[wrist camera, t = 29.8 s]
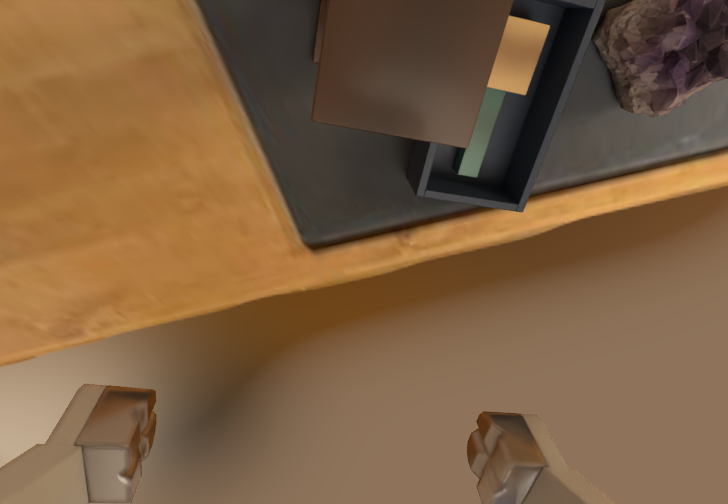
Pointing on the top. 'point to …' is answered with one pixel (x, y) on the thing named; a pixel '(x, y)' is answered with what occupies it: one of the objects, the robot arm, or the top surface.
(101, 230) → the top surface
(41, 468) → the robot arm
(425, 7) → the stand
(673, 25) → the geode
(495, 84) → the brush
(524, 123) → the desk bin
